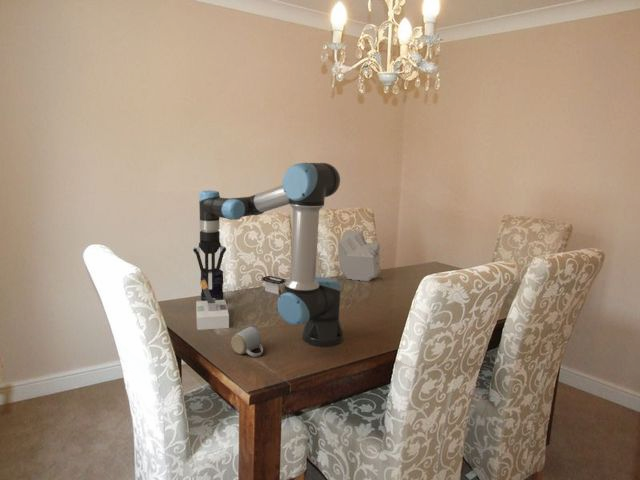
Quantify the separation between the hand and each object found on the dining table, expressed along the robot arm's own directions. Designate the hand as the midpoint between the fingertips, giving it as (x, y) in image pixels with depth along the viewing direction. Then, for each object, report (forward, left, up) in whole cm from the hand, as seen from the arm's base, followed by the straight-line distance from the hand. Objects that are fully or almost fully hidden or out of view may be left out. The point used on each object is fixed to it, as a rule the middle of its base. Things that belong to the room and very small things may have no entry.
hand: (210, 288), depth 186 cm
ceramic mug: (-34, -12, -14) cm, 38 cm away
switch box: (0, -1, -13) cm, 13 cm away
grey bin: (+34, -32, -14) cm, 48 cm away
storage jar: (+20, -2, -14) cm, 24 cm away
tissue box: (+50, -83, -14) cm, 97 cm away
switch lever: (0, -1, -7) cm, 7 cm away
